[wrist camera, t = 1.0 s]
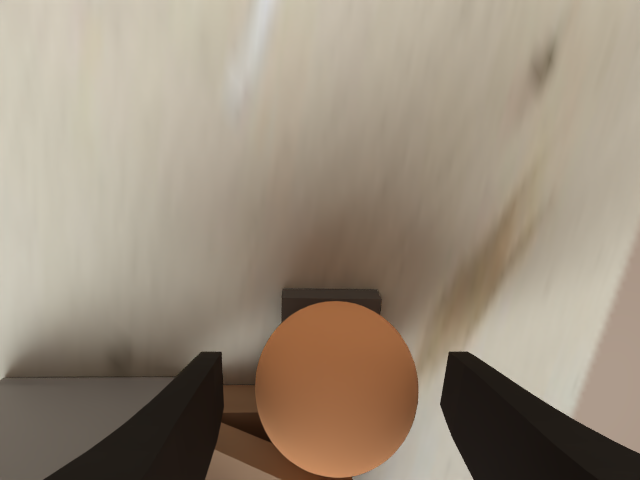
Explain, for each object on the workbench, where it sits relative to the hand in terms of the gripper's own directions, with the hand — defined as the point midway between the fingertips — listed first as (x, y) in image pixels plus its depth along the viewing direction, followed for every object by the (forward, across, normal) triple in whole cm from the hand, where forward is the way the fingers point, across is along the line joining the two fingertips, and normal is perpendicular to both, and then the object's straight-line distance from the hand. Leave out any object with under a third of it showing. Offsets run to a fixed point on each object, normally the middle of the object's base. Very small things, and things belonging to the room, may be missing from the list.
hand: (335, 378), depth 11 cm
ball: (0, 0, 0) cm, 0 cm away
